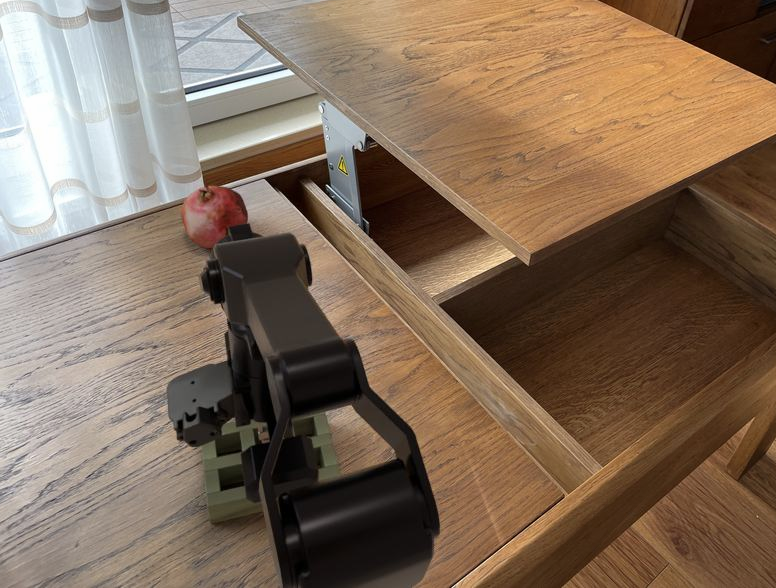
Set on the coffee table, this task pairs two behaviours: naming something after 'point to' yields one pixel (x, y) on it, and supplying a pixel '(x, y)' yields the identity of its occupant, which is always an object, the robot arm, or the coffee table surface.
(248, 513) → the rack
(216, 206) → the fruit
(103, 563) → the coffee table surface
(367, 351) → the coffee table surface
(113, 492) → the coffee table surface
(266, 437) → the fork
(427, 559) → the robot arm
